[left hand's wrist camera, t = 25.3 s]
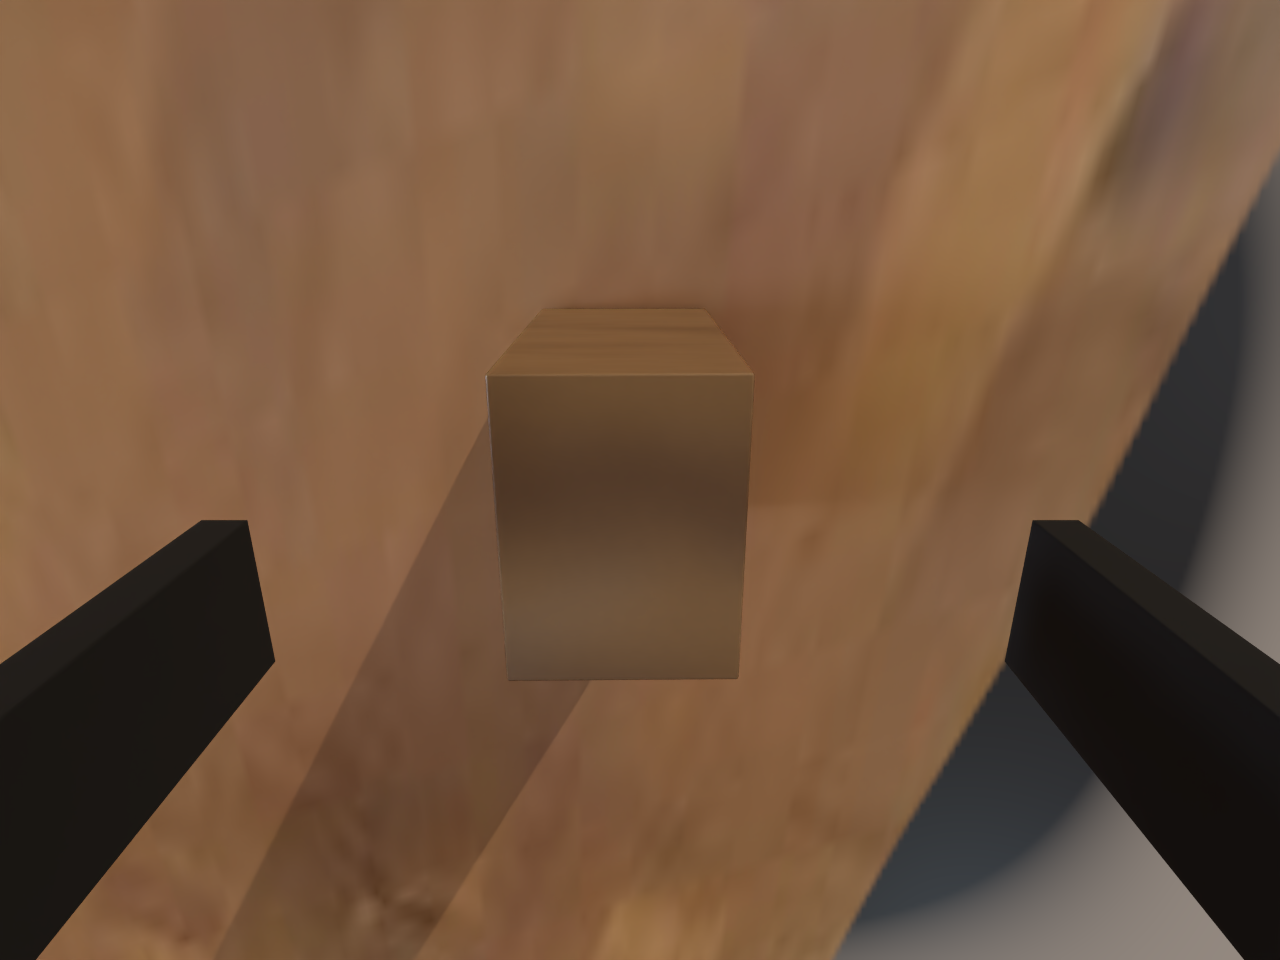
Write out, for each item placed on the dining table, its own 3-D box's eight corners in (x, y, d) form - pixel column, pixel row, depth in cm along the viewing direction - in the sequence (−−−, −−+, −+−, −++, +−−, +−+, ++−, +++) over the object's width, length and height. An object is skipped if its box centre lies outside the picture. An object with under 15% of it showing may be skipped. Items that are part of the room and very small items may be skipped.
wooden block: (699, 511, 25) (738, 679, 16) (550, 512, 25) (506, 681, 16) (705, 308, 22) (755, 373, 14) (541, 308, 22) (484, 373, 13)
